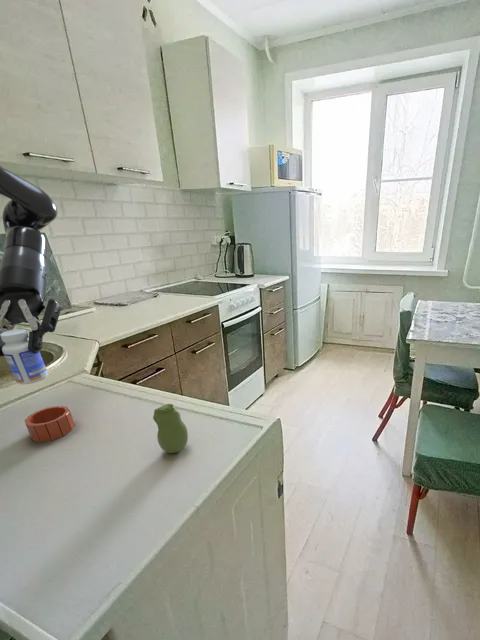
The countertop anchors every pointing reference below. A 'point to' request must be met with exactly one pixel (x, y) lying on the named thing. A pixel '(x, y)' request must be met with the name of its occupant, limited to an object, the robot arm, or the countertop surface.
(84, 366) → the countertop surface
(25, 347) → the pill bottle
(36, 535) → the countertop surface
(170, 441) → the pear
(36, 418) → the ring holder
